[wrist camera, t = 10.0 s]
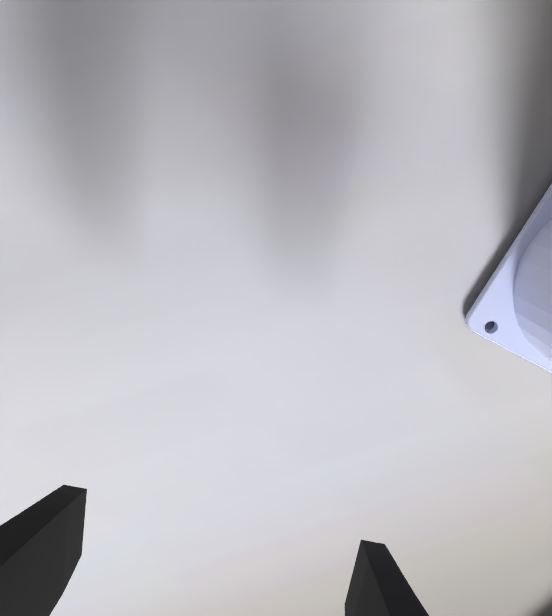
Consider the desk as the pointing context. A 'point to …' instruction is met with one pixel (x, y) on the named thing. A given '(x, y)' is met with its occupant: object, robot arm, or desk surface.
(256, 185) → the desk surface
